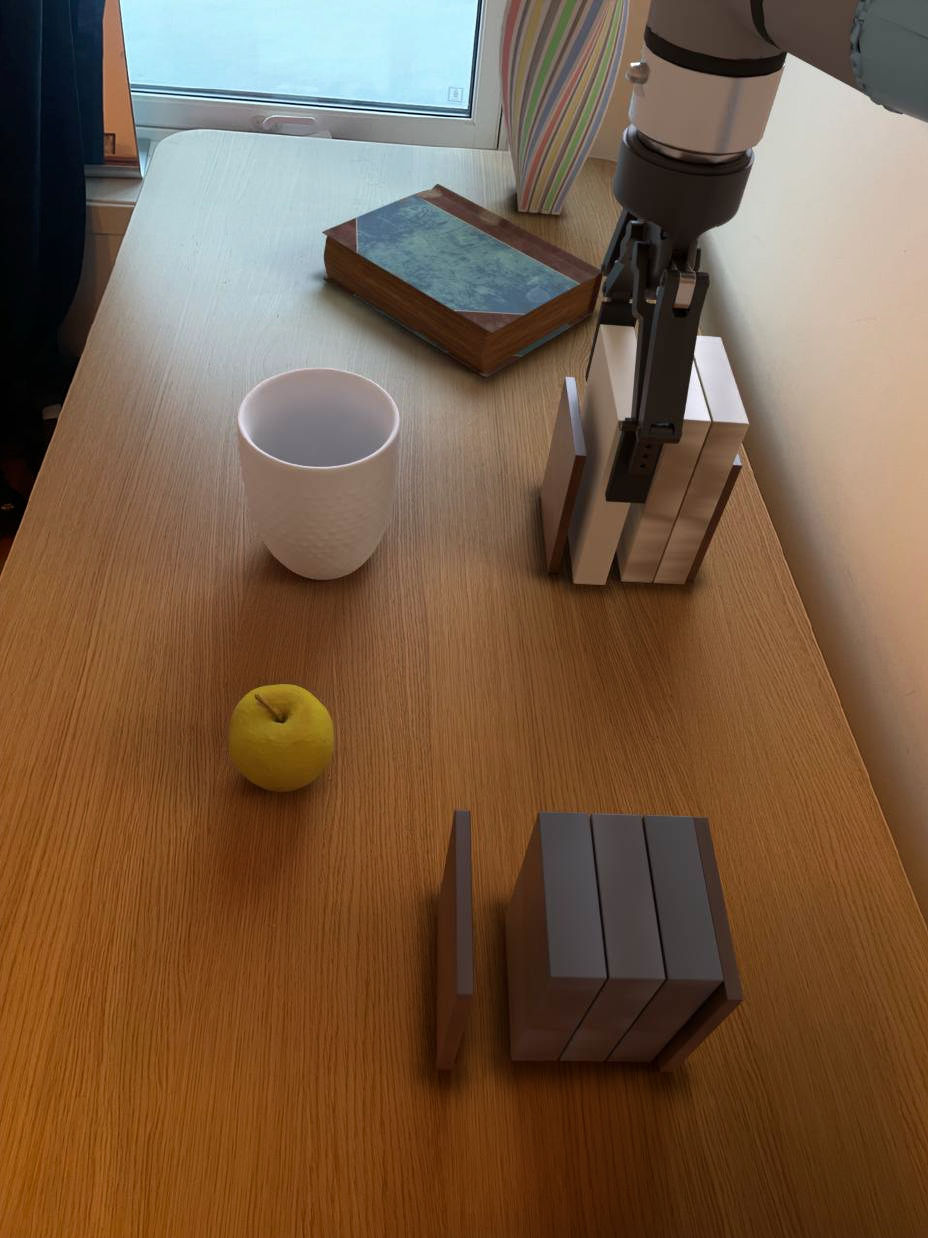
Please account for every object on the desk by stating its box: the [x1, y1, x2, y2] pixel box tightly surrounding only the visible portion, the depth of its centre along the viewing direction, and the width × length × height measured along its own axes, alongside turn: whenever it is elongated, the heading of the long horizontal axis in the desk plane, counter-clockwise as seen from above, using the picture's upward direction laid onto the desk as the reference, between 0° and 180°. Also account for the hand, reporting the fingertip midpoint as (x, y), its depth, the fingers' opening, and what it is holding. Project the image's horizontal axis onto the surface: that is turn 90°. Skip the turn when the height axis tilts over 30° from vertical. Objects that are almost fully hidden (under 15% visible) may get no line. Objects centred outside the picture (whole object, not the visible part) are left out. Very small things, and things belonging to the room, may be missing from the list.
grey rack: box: [436, 808, 745, 1073], centre depth 48 cm, size 13×9×13 cm
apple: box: [228, 683, 335, 793], centre depth 57 cm, size 6×6×8 cm
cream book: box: [567, 324, 637, 586], centre depth 71 cm, size 2×11×16 cm, turn 1°
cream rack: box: [539, 335, 750, 585], centre depth 71 cm, size 12×10×16 cm
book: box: [321, 183, 604, 379], centre depth 96 cm, size 23×18×5 cm
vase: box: [498, 0, 630, 216], centre depth 101 cm, size 14×14×30 cm
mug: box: [236, 367, 401, 581], centre depth 69 cm, size 15×11×13 cm
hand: (613, 436), depth 69 cm, fingers open, 13 cm apart
